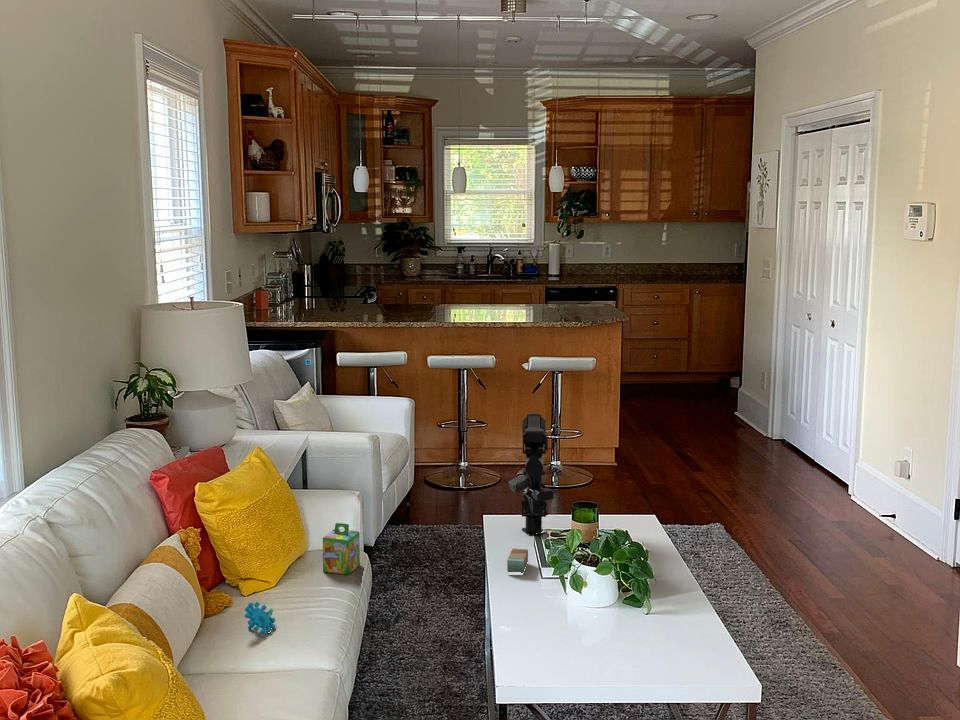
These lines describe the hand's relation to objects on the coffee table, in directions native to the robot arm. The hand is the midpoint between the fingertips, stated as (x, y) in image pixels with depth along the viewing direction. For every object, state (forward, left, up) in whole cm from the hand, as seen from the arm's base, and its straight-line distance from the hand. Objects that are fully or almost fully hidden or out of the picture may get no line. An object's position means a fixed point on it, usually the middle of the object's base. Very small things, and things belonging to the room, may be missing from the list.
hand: (533, 513), depth 316 cm
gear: (+22, -94, -13) cm, 97 cm away
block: (+8, -9, -11) cm, 16 cm away
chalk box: (-10, -63, -13) cm, 65 cm away
